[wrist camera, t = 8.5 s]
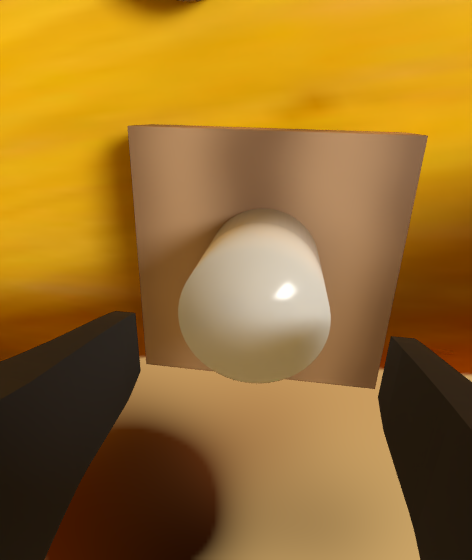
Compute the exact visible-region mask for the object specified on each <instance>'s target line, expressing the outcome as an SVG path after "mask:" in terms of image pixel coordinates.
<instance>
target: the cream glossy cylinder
mask: <svg viewBox="0 0 472 560" xmlns="http://www.w3.org/2000/svg"><path fill="white" fill-rule="evenodd" d="M178 318H179V325H180V329H181V332H182V335H183V337H184V339H185V342H186V343H187V345H188V346H189V348H190V350H191V351H192V352H193V353H194V355H195V356H196V357H197V358H198V359H199V360H200V361H201V362H202V363H203V364H205V365H206V366H207V367H209V368H210V369H212V370H213V371H215V372H216V373H218V374H221V375H223V376H225V377H227V378H230V379H233V380H237V381H241V382H248V383H270V382H275V381H280V380H283V379H286V378H289V377H291V376H293V375H295V374H297V373H299V372H300V371H302V370H304V369H305V368H306V367H307V366H309V365H310V364H311V363H312V362H313V361H314V360H315V359H316V358H317V357H318V355H319V354H320V352H321V351H322V349H323V347H324V345H325V343H326V341H327V338H328V335H329V331H330V325H331V314H330V306H329V302H328V297H327V292H326V287H325V283H324V278H323V273H322V269H321V264H320V259H319V254H318V250H317V246H316V243H315V241H314V239H313V237H312V235H311V234H310V232H309V231H308V229H307V228H306V227H305V226H304V225H303V224H302V223H301V222H300V221H298V220H297V219H296V218H294V217H293V216H291V215H289V214H287V213H284V212H281V211H278V210H274V209H265V208H263V209H253V210H248V211H245V212H242V213H240V214H238V215H236V216H234V217H232V218H231V219H229V220H228V221H227V222H226V223H225V224H224V225H223V226H222V227H221V228H220V229H219V231H218V232H217V234H216V235H215V237H214V239H213V240H212V242H211V243H210V245H209V247H208V248H207V250H206V251H205V253H204V255H203V256H202V258H201V259H200V261H199V263H198V264H197V266H196V267H195V269H194V270H193V272H192V274H191V275H190V277H189V278H188V280H187V282H186V283H185V286H184V288H183V290H182V292H181V296H180V299H179V306H178Z"/></svg>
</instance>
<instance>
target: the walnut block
mask: <svg viewBox="0 0 472 560" xmlns="http://www.w3.org/2000/svg"><path fill="white" fill-rule="evenodd" d="M128 137H129V149H130V162H131V175H132V187H133V200H134V213H135V225H136V238H137V250H138V263H139V276H140V288H141V301H142V314H143V326H144V339H145V352H146V363H147V364H152V365H162V366H170V367H180V368H188V369H198V370H207V371H213V370H212V369H210V368H209V367H207V366H206V365H205V364H203V363H202V362H201V361H200V360H199V359H198V358H197V357H196V356H195V355H194V353H193V352H192V351H191V350H190V348H189V346H188V345H187V343H186V342H185V339H184V337H183V335H182V332H181V329H180V325H179V318H178V306H179V299H180V296H181V292H182V290H183V288H184V286H185V283H186V282H187V280H188V278H189V277H190V275H191V274H192V272H193V270H194V269H195V267H196V266H197V264H198V263H199V261H200V259H201V258H202V256H203V255H204V253H205V251H206V250H207V248H208V247H209V245H210V243H211V242H212V240H213V239H214V237H215V235H216V234H217V232H218V231H219V229H220V228H221V227H222V226H223V225H224V224H225V223H226V222H227V221H228V220H229V219H231V218H232V217H234V216H236V215H238V214H240V213H242V212H245V211H248V210H253V209H263V208H265V209H274V210H278V211H281V212H284V213H287V214H289V215H291V216H293V217H294V218H296V219H297V220H298V221H300V222H301V223H302V224H303V225H304V226H305V227H306V228H307V229H308V231H309V232H310V234H311V235H312V237H313V239H314V241H315V243H316V246H317V250H318V254H319V259H320V264H321V269H322V273H323V278H324V283H325V287H326V292H327V297H328V302H329V306H330V314H331V325H330V331H329V335H328V338H327V341H326V343H325V345H324V347H323V349H322V351H321V352H320V354H319V355H318V357H317V358H316V359H315V360H314V361H313V362H312V363H311V364H310V365H309V366H307V367H306V368H305V369H304V370H302V371H300V372H299V373H297V374H295V375H293V376H291V377H289V378H286V379H290V380H298V381H308V382H317V383H327V384H335V385H344V386H353V387H362V388H372V389H375V385H376V381H377V376H378V371H379V366H380V362H381V357H382V352H383V347H384V343H385V338H386V333H387V328H388V323H389V319H390V314H391V309H392V304H393V300H394V295H395V290H396V285H397V280H398V276H399V271H400V266H401V261H402V257H403V252H404V247H405V242H406V238H407V233H408V228H409V223H410V218H411V214H412V209H413V204H414V199H415V195H416V190H417V185H418V180H419V176H420V171H421V166H422V161H423V156H424V152H425V147H426V142H427V137H428V136H426V135H419V134H412V133H399V132H368V131H337V130H306V129H276V128H245V127H214V126H183V125H134V126H128Z"/></svg>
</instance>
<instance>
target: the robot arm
mask: <svg viewBox="0 0 472 560" xmlns="http://www.w3.org/2000/svg"><path fill="white" fill-rule="evenodd" d="M139 373H140V360H139V349H138V338H137V327H136V316H135V313H130V312H120V311H114V312H112V313H109V314H106V315H104V316H102V317H99V318H97V319H95V320H93V321H91V322H89V323H87V324H85V325H83V326H80V327H78V328H76V329H74V330H72V331H70V332H68V333H66V334H64V335H62V336H60V337H57V338H55V339H53V340H51V341H49V342H46V343H44V344H42V345H39V346H37V347H35V348H33V349H30V350H28V351H26V352H24V353H21V354H19V355H16V356H14V357H11V358H9V359H6V360H4V361H1V362H0V560H44V559H45V556H46V555H47V552H48V550H49V548H50V545H51V543H52V541H53V539H54V537H55V534H56V532H57V530H58V528H59V525H60V523H61V521H62V519H63V517H64V515H65V512H66V510H67V508H68V506H69V504H70V502H71V500H72V497H73V496H74V493H75V491H76V489H77V487H78V485H79V483H80V481H81V479H82V477H83V476H84V474H85V472H86V470H87V468H88V466H89V464H90V463H91V461H92V460H93V458H94V456H95V455H96V453H97V452H98V450H99V448H100V447H101V445H102V443H103V442H104V440H105V438H106V437H107V435H108V433H109V432H110V430H111V428H112V427H113V425H114V424H115V422H116V420H117V418H118V417H119V415H120V413H121V412H122V410H123V408H124V407H125V405H126V403H127V401H128V399H129V397H130V395H131V393H132V390H133V388H134V386H135V383H136V381H137V378H138V376H139ZM378 400H379V406H380V412H381V419H382V424H383V430H384V434H385V437H386V440H387V444H388V447H389V450H390V453H391V456H392V459H393V463H394V466H395V469H396V472H397V476H398V479H399V481H400V485H401V488H402V491H403V494H404V497H405V501H406V504H407V507H408V510H409V513H410V517H411V521H412V524H413V528H414V532H415V536H416V541H417V546H418V550H419V555H420V560H472V382H471V381H470V380H468V379H467V378H466V377H464V376H463V375H462V374H460V373H459V372H458V371H457V370H455V369H454V368H453V367H451V366H450V365H449V364H448V363H446V362H445V361H444V360H443V359H441V358H440V357H439V356H438V355H436V354H435V353H434V352H433V351H431V350H430V349H429V348H427V347H426V346H425V345H423V344H422V343H421V342H419V341H418V340H416V339H414V338H403V337H392V336H391V339H390V343H389V348H388V353H387V357H386V362H385V367H384V372H383V376H382V381H381V386H380V390H379V395H378Z"/></svg>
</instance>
